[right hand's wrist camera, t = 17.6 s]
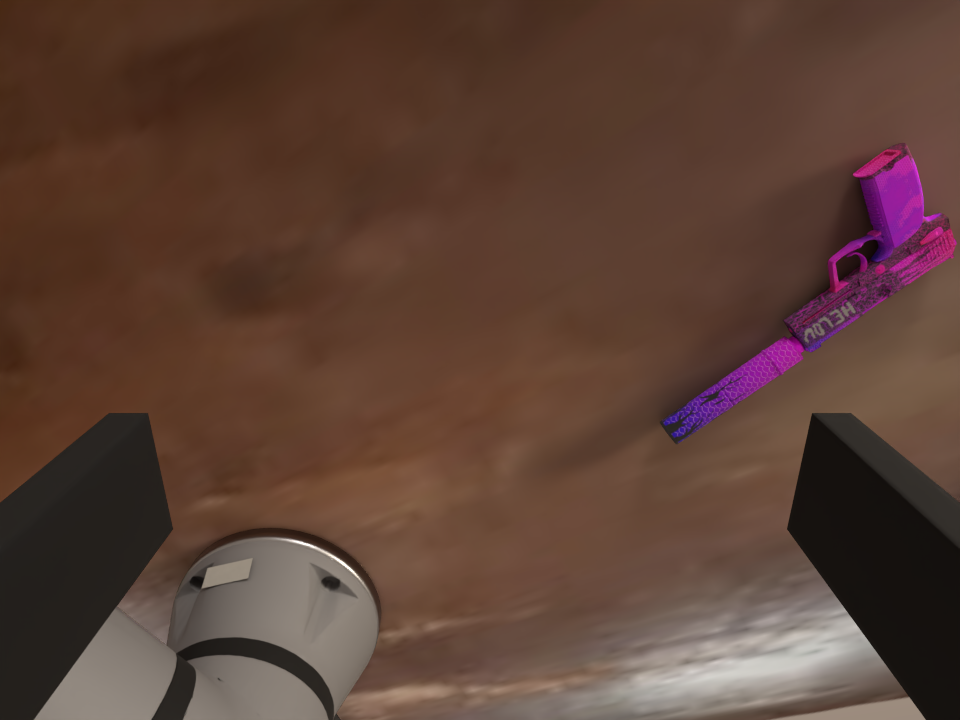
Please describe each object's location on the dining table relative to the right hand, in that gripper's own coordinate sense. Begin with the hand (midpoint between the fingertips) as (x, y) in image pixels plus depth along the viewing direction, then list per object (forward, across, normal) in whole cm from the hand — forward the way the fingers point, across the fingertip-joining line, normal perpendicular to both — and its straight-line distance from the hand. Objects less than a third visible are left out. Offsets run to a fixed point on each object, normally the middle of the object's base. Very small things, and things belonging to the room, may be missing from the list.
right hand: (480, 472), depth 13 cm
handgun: (+28, -20, +4) cm, 34 cm away
